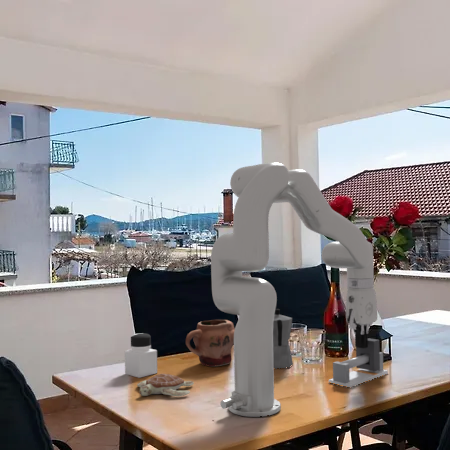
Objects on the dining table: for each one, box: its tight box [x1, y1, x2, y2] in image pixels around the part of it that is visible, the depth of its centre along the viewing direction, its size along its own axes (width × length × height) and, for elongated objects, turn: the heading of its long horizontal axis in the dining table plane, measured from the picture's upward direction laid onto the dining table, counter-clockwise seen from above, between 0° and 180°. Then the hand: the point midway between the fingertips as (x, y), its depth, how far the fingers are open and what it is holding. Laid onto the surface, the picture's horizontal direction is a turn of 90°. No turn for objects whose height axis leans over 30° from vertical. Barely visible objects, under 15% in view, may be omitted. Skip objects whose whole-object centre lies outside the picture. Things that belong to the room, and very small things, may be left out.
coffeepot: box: [273, 308, 294, 370], centre depth 170 cm, size 15×9×18 cm, turn 179°
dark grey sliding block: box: [355, 337, 381, 371], centre depth 158 cm, size 3×6×9 cm, turn 44°
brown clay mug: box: [185, 319, 235, 367], centre depth 173 cm, size 20×12×14 cm, turn 134°
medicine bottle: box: [124, 332, 158, 379], centre depth 164 cm, size 7×7×12 cm
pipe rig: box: [328, 351, 389, 388], centre depth 155 cm, size 20×7×6 cm, turn 134°
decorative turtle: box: [136, 373, 195, 397], centre depth 146 cm, size 18×17×5 cm
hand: (361, 347), depth 156 cm, fingers closed
